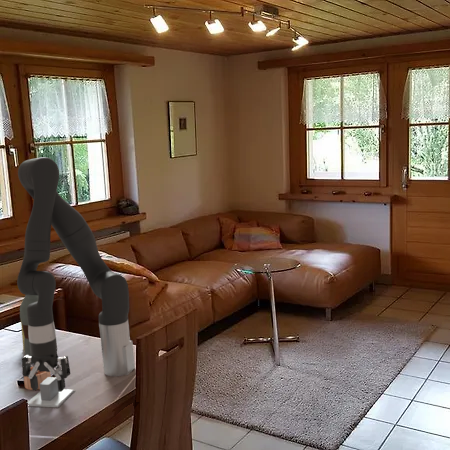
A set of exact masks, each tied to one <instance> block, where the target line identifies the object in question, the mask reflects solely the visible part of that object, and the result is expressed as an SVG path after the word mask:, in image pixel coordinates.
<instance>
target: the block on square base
mask: <svg viewBox="0 0 450 450" xmlns="http://www.w3.org/2000/svg"><path fill="white" fill-rule="evenodd" d="M57 380H58V379H57V378H56V376H54V377H53V376H51V377H47V378H46V379H45V380H44V381H43V382H42V383H40V384H39V385H40V389H39V391H38V392H37V394H35V395H34V396H33V397H32V398H31V399H29V401H27V403H28V405H29V406H42V407H59V406H60V405H61V404H62V403H63V402H64V401H65V400H66V399H67V398H68V397H69V396H70V395H71V394H72V393H73V392H74V391H75V390H74V389H68V388H67V389H65V388H64V390H63V391H62V392H59V391H58V383H57ZM74 393H75V392H74ZM74 393H73V394H74ZM73 394H72V395H73ZM72 395H71V396H72ZM71 396H70V397H71ZM70 397H69V398H70ZM69 398H68V399H69ZM68 399H67V400H68ZM67 400H66V401H67ZM66 401H65V402H66ZM65 402H64V403H65ZM64 403H63V404H64ZM63 404H62V405H63ZM62 405H61V406H62ZM61 406H60V407H61ZM60 407H59V408H60Z"/></svg>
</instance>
